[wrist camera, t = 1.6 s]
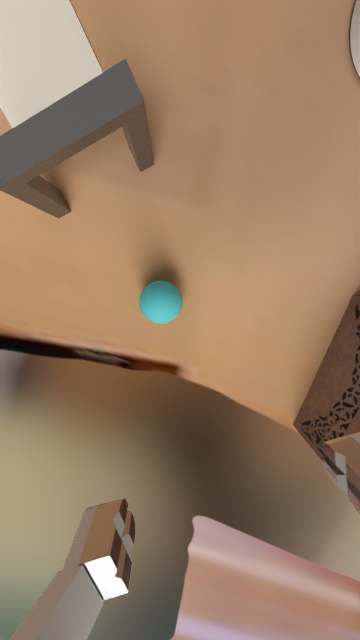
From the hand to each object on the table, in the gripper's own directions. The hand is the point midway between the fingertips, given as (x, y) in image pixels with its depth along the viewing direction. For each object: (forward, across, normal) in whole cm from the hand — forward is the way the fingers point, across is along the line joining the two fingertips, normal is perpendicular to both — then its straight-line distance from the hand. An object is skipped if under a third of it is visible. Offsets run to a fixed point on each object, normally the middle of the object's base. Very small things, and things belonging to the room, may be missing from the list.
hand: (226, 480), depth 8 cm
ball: (+21, +2, -5) cm, 22 cm away
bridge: (+24, +6, -23) cm, 34 cm away
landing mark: (+24, +8, -37) cm, 44 cm away
